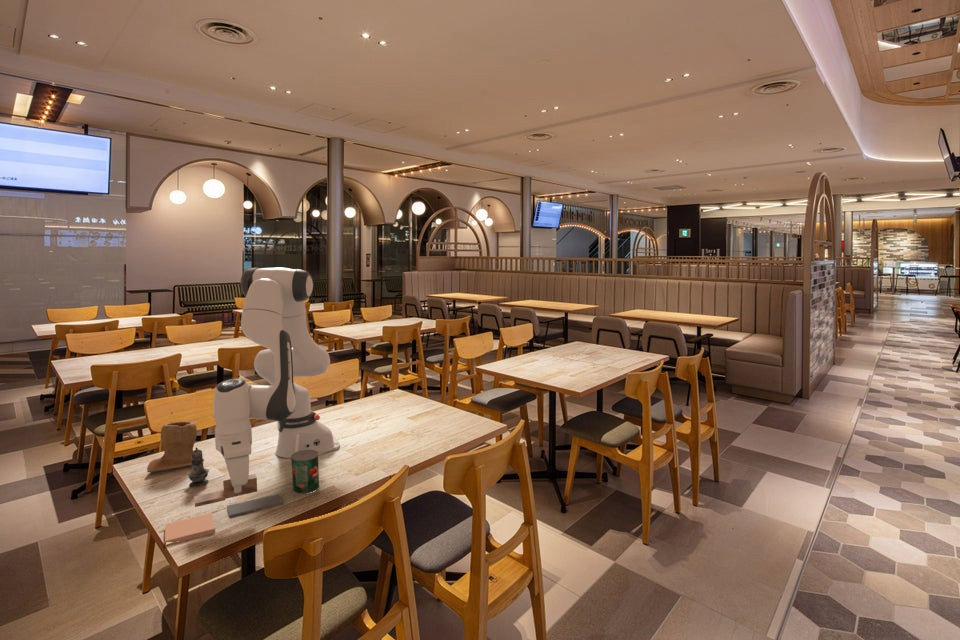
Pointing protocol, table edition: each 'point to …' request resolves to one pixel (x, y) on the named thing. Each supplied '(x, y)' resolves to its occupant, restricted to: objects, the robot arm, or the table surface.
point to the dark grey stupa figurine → (198, 470)
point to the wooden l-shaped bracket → (226, 492)
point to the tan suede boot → (175, 446)
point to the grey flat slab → (254, 505)
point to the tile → (189, 528)
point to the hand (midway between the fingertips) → (236, 488)
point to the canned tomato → (305, 471)
